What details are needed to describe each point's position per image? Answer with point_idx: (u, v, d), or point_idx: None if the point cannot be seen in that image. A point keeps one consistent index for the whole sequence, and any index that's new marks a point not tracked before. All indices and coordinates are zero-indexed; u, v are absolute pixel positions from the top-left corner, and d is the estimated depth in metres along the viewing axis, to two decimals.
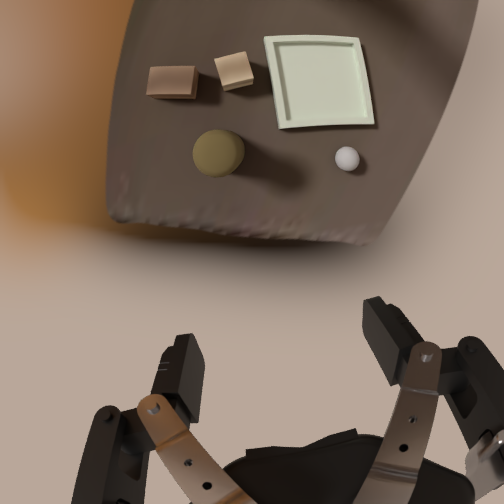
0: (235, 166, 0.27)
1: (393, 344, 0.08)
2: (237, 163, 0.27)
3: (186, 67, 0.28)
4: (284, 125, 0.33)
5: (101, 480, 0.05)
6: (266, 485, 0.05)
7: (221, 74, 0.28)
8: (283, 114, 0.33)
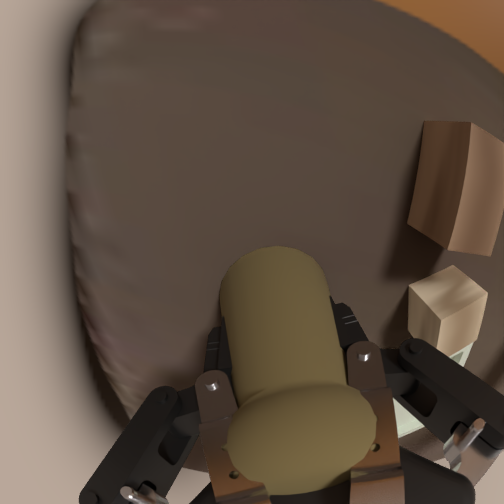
0: None
1: None
2: None
3: (494, 237, 0.10)
4: None
5: (133, 460, 0.06)
6: None
7: (460, 313, 0.11)
8: None
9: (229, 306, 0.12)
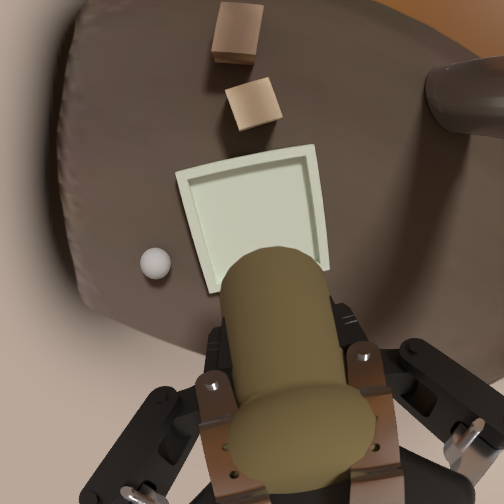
0: None
1: None
2: None
3: (254, 45, 0.19)
4: (180, 177, 0.26)
5: (133, 460, 0.06)
6: None
7: (243, 87, 0.21)
8: (195, 174, 0.26)
9: (229, 306, 0.12)
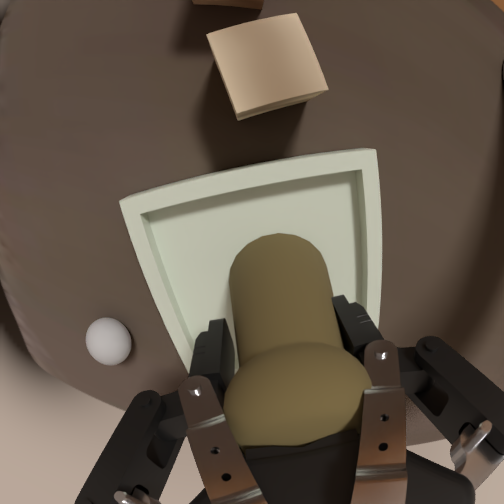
0: None
1: (350, 341, 0.09)
2: None
3: None
4: (127, 210, 0.13)
5: (123, 465, 0.05)
6: (266, 485, 0.05)
7: (244, 28, 0.08)
8: (153, 205, 0.13)
9: (235, 288, 0.14)
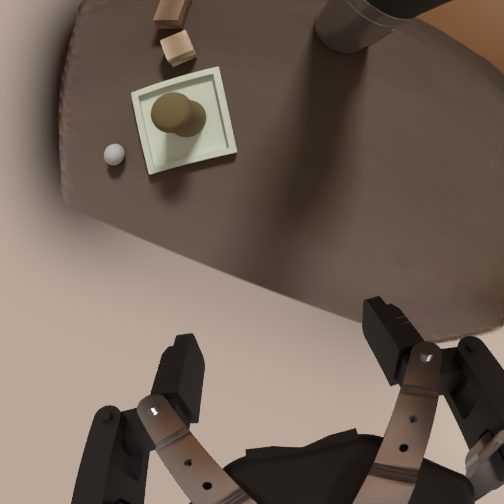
0: (161, 129, 0.28)
1: (393, 344, 0.08)
2: (164, 130, 0.28)
3: (178, 14, 0.27)
4: (133, 95, 0.34)
5: (101, 480, 0.05)
6: (266, 485, 0.05)
7: (170, 37, 0.29)
8: (142, 92, 0.34)
9: None
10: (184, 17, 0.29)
